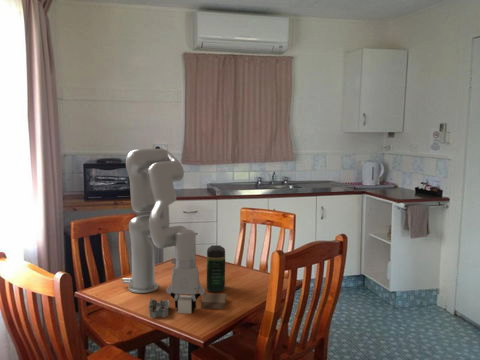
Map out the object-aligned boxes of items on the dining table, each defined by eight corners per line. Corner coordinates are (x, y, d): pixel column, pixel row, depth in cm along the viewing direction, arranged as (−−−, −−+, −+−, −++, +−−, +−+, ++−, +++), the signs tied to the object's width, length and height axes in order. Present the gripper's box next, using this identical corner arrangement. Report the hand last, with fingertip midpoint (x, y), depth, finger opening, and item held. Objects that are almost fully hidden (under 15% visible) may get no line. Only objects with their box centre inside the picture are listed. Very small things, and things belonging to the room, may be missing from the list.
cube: (177, 313, 166) (177, 300, 165) (180, 307, 171) (180, 295, 170) (191, 313, 166) (191, 300, 165) (193, 308, 171) (193, 295, 170)
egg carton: (149, 307, 171) (149, 297, 171) (169, 306, 172) (169, 296, 172) (147, 319, 161) (147, 308, 160) (168, 318, 162) (168, 307, 161)
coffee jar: (225, 292, 187) (225, 249, 185) (206, 292, 187) (206, 249, 185) (224, 284, 197) (225, 243, 195) (206, 285, 196) (206, 243, 194)
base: (200, 309, 171) (200, 301, 170) (204, 300, 180) (204, 293, 179) (224, 310, 170) (224, 302, 170) (226, 301, 179) (226, 294, 179)
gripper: (160, 265, 163) (161, 313, 165) (207, 266, 162) (206, 314, 164) (165, 259, 170) (165, 305, 172) (209, 260, 170) (209, 306, 172)
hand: (185, 309), depth 168 cm, fingers closed on cube, 5 cm apart
